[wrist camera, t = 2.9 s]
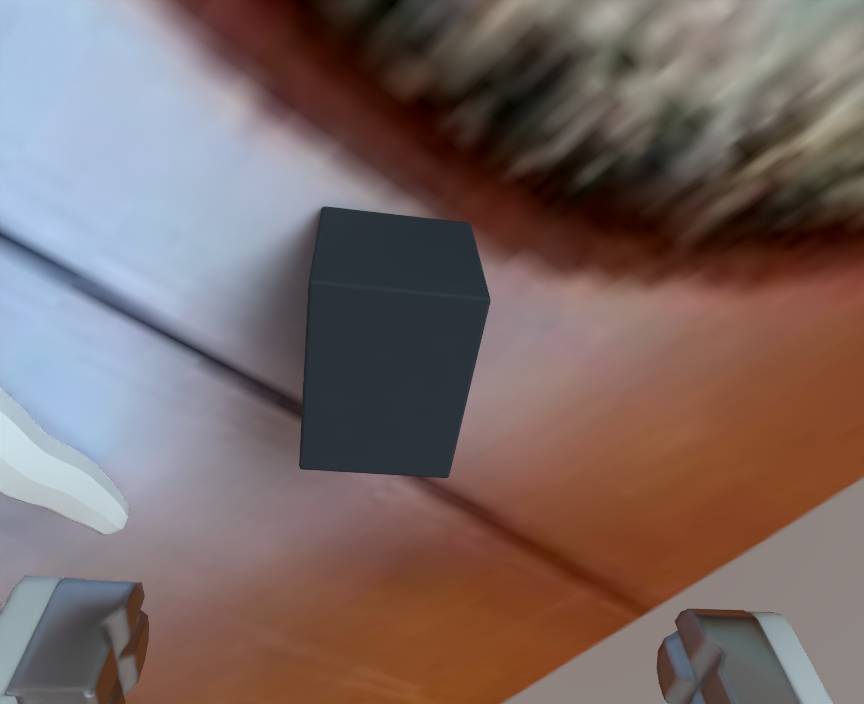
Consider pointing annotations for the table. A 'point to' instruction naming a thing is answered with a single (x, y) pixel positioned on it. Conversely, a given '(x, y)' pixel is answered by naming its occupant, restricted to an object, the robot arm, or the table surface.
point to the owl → (55, 474)
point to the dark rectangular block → (389, 342)
